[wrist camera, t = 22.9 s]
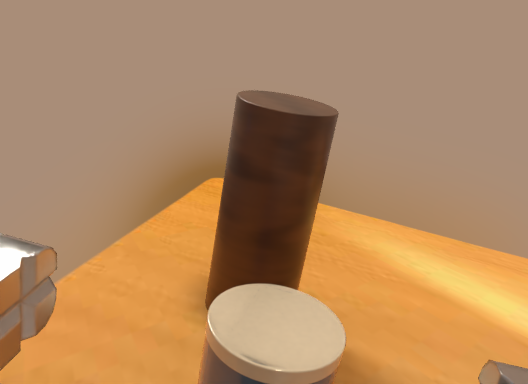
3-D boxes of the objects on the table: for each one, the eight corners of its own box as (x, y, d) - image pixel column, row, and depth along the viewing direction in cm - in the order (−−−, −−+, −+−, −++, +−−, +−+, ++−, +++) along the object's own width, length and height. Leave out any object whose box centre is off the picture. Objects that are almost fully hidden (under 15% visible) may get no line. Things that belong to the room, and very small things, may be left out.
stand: (229, 342, 37) (270, 113, 31) (191, 288, 43) (219, 87, 36) (308, 324, 41) (359, 118, 35) (264, 277, 47) (301, 93, 40)
